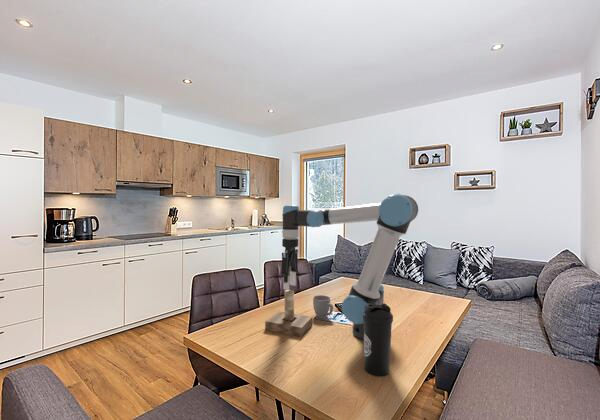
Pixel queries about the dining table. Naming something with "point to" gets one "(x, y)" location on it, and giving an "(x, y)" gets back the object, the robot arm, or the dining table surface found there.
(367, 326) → the water bottle
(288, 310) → the peg
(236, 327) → the dining table surface
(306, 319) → the board
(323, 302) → the mug
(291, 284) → the robot arm
